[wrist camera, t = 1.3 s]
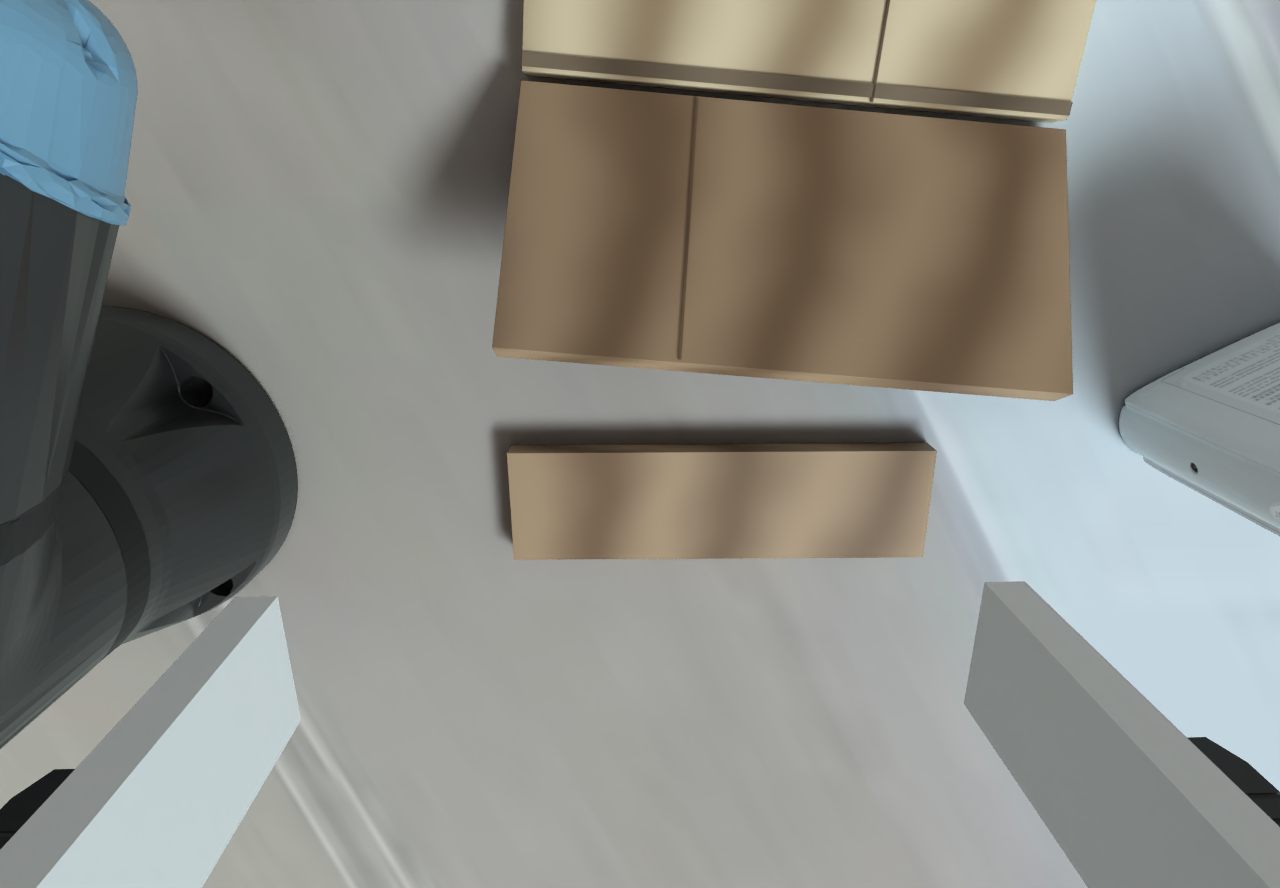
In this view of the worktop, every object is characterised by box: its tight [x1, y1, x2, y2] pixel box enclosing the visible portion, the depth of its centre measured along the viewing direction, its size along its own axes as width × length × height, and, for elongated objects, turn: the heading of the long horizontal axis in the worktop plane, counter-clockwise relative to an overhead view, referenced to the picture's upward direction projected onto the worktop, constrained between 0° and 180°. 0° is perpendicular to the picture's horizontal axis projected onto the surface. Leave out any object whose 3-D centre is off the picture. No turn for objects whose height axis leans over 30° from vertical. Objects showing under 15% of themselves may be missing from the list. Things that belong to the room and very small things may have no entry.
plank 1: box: [492, 80, 1073, 401], centre depth 29 cm, size 22×11×1 cm, turn 85°
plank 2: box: [507, 443, 937, 560], centre depth 36 cm, size 20×6×1 cm, turn 90°
